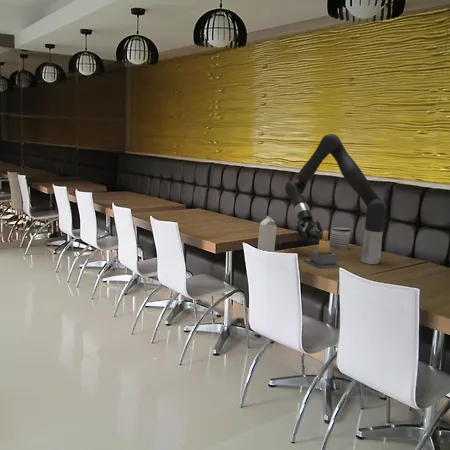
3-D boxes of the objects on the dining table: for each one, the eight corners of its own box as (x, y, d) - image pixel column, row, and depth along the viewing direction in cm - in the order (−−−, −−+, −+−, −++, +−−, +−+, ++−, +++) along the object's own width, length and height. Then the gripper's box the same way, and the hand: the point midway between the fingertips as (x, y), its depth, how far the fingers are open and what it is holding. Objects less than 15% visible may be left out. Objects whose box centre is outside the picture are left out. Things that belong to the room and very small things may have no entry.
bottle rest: (304, 261, 269) (305, 249, 268) (325, 260, 275) (326, 248, 274) (318, 268, 258) (320, 256, 256) (340, 267, 263) (341, 255, 262)
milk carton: (261, 252, 280) (265, 217, 277) (257, 249, 287) (260, 215, 283) (274, 253, 282) (277, 218, 279) (269, 249, 289) (272, 215, 285)
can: (334, 249, 302) (336, 229, 300) (325, 245, 313) (327, 225, 311) (352, 250, 305) (354, 229, 303) (342, 245, 316) (345, 225, 314)
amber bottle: (321, 260, 270) (325, 229, 267) (329, 262, 266) (333, 231, 263) (315, 261, 266) (318, 230, 263) (322, 263, 263) (326, 232, 260)
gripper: (295, 209, 275) (305, 235, 267) (317, 209, 281) (328, 235, 273) (288, 217, 281) (298, 243, 273) (311, 217, 287) (320, 242, 279)
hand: (313, 239), depth 273 cm, fingers open, 8 cm apart
